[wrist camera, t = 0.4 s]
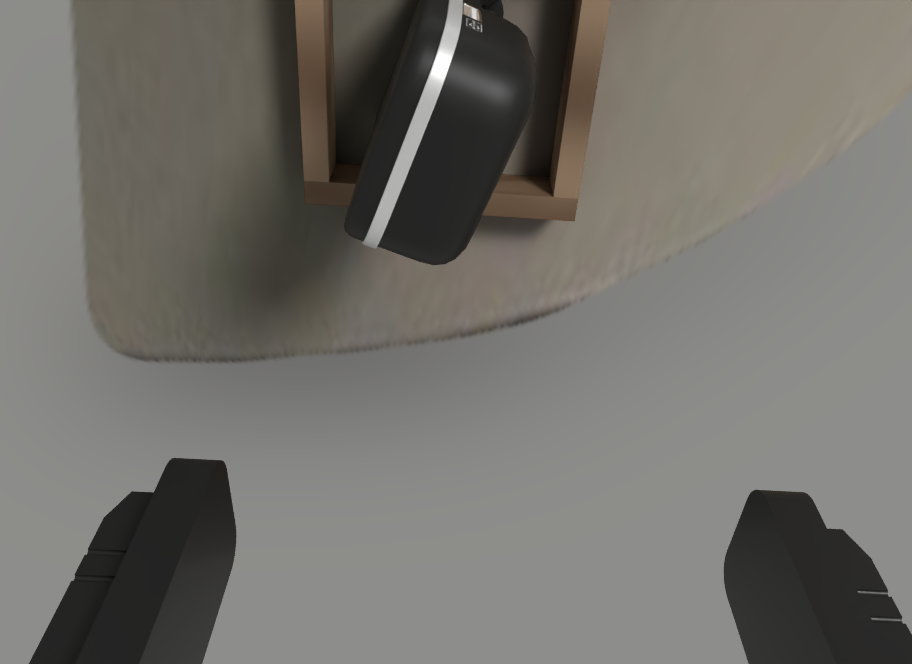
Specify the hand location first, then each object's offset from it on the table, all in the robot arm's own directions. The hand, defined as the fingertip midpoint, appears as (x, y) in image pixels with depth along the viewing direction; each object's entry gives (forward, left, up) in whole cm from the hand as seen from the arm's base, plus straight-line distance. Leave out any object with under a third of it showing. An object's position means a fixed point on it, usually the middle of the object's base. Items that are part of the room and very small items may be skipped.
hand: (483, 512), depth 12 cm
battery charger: (-1, -1, -23) cm, 23 cm away
